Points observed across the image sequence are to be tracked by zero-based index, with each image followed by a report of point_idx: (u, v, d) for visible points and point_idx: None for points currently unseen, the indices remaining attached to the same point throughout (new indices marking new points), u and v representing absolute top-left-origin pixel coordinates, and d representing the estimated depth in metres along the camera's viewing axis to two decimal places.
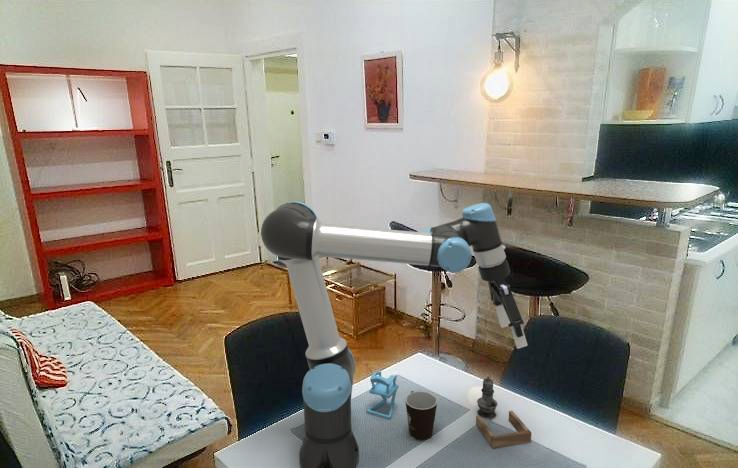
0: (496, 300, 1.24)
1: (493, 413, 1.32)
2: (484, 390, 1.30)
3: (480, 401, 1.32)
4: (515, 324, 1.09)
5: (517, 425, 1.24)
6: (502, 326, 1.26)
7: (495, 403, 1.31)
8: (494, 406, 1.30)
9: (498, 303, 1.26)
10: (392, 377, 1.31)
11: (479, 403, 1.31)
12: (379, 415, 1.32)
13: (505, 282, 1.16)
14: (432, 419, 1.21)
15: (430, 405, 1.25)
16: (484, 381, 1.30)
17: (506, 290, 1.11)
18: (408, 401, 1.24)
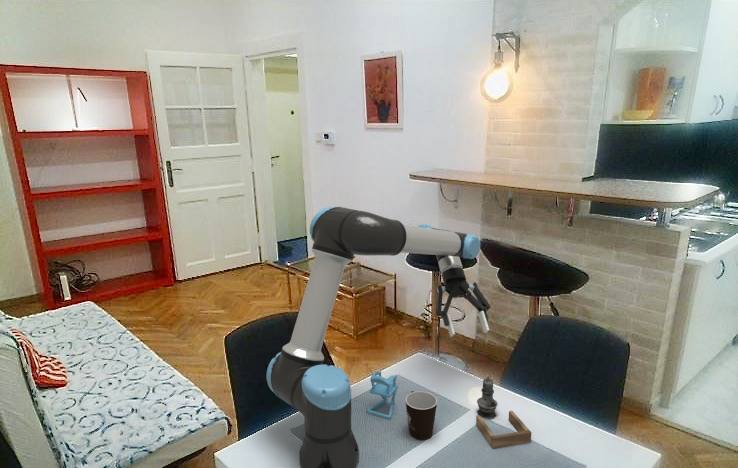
0: (448, 308, 1.44)
1: (493, 413, 1.32)
2: (484, 390, 1.30)
3: (480, 401, 1.32)
4: None
5: (517, 425, 1.24)
6: None
7: (495, 403, 1.31)
8: (494, 406, 1.30)
9: None
10: (392, 377, 1.31)
11: (479, 403, 1.31)
12: (379, 415, 1.32)
13: None
14: (432, 419, 1.21)
15: (430, 405, 1.25)
16: (484, 381, 1.30)
17: None
18: (408, 401, 1.24)
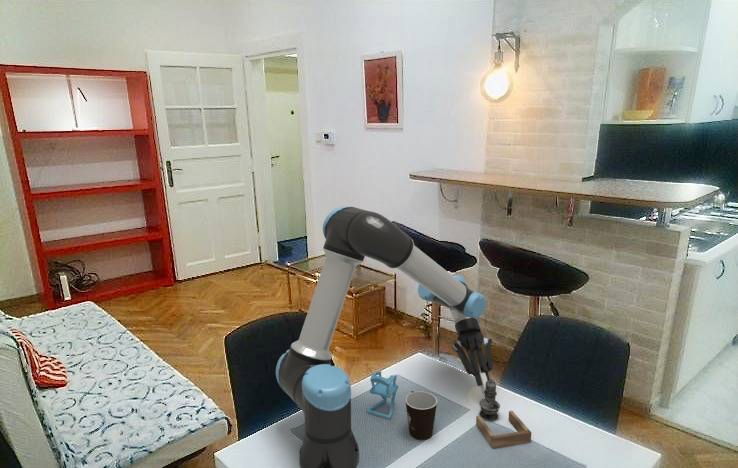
0: None
1: (495, 415, 1.31)
2: (487, 392, 1.29)
3: (482, 403, 1.30)
4: None
5: (517, 425, 1.24)
6: None
7: (497, 405, 1.30)
8: (496, 408, 1.29)
9: None
10: (392, 377, 1.31)
11: (481, 405, 1.30)
12: (379, 415, 1.32)
13: None
14: (432, 419, 1.21)
15: (430, 405, 1.25)
16: (487, 383, 1.29)
17: None
18: (408, 401, 1.24)
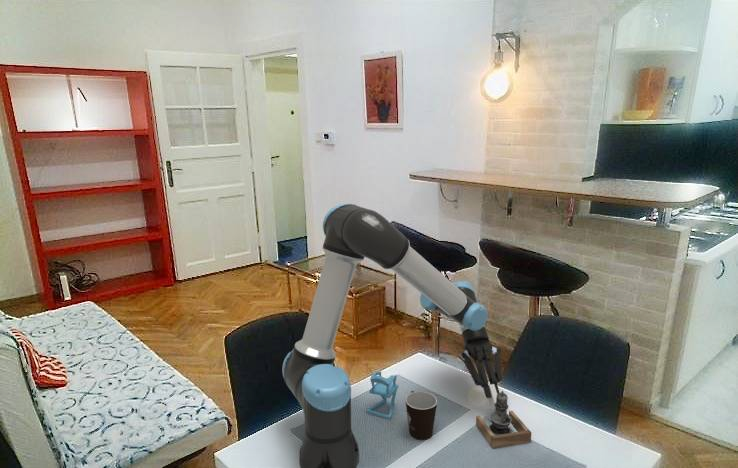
0: None
1: (507, 428, 1.25)
2: (498, 405, 1.22)
3: (493, 417, 1.24)
4: None
5: (517, 425, 1.24)
6: None
7: (509, 418, 1.24)
8: (509, 421, 1.22)
9: None
10: (392, 377, 1.31)
11: (493, 419, 1.23)
12: (379, 415, 1.32)
13: None
14: (432, 419, 1.21)
15: (430, 405, 1.25)
16: (498, 396, 1.22)
17: None
18: (408, 401, 1.24)
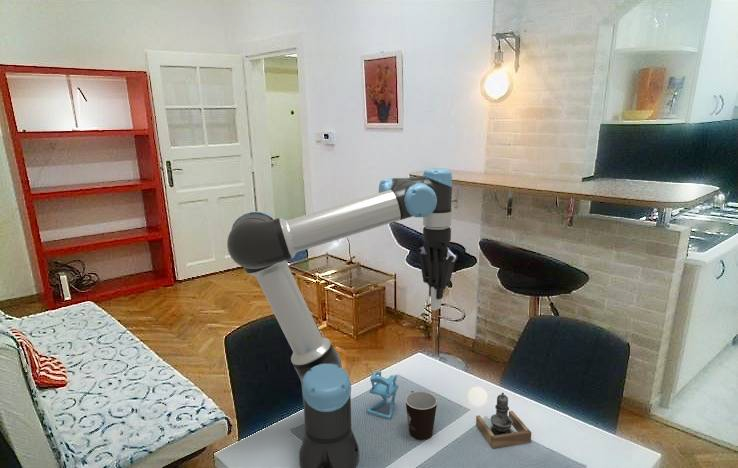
0: (432, 276, 1.25)
1: (508, 431, 1.24)
2: (499, 407, 1.22)
3: (494, 419, 1.23)
4: (444, 285, 1.22)
5: (517, 425, 1.24)
6: None
7: (510, 420, 1.23)
8: (510, 424, 1.22)
9: (433, 283, 1.26)
10: (392, 377, 1.31)
11: (494, 422, 1.22)
12: (379, 415, 1.32)
13: None
14: (432, 419, 1.21)
15: (430, 405, 1.25)
16: (499, 398, 1.22)
17: (454, 259, 1.19)
18: (408, 401, 1.24)
